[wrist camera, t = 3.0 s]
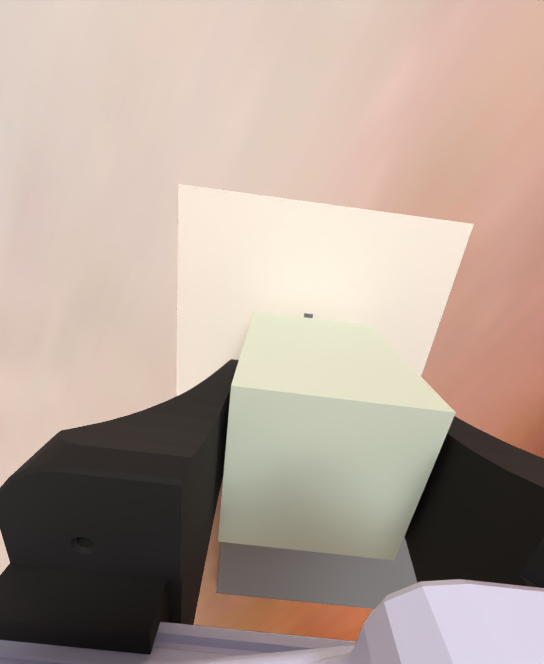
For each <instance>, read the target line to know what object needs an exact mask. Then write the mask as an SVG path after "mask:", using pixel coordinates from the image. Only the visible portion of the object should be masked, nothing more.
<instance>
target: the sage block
mask: <svg viewBox="0 0 544 664" xmlns="http://www.w3.org/2000/svg"><path fill="white" fill-rule="evenodd" d="M455 413H456V412H455V411H454V410H453V409H452V408H451V407H450V406H449V405H448V404H447V403H446V402H445V401H444V400H443V399H442V398H441V397H440V396H439V395H438V394H437V393H436V392H435V391H434V390H433V389H432V388H431V387H430V386H429V385H428V384H427V382H426V381H425V380H424V379H423V378H422V377H421V376H420V375H419V374H418V373H417V372H416V371H415V370H414V369H413V368H412V367H411V366H410V365H409V364H408V363H407V362H406V361H405V360H404V359H403V358H402V357H401V356H400V355H399V354H398V353H397V352H396V350H395V349H394V348H393V347H392V346H391V345H390V344H389V343H388V342H387V341H386V340H385V339H384V338H383V337H382V336H381V335H380V334H379V333H378V332H377V331H376V330H375V329H374V328H373V327H372V326H369V325H361V324H353V323H345V322H337V321H329V320H321V319H313V318H306V317H298V316H290V315H282V314H274V313H266V312H258V311H254V312H253V315H252V319H251V322H250V325H249V328H248V332H247V335H246V338H245V342H244V345H243V348H242V351H241V355H240V358H239V361H238V365H237V368H236V371H235V374H234V378H233V381H232V384H231V392H230V404H229V415H228V427H227V439H226V450H225V462H224V474H223V486H222V497H221V509H220V521H219V532H218V542H227V543H236V544H245V545H255V546H264V547H273V548H283V549H292V550H301V551H310V552H320V553H329V554H338V555H347V556H357V557H366V558H375V559H384V560H395V558H396V555H397V553H398V551H399V548H400V546H401V543H402V541H403V539H404V536H405V534H406V531H407V529H408V526H409V524H410V522H411V519H412V517H413V514H414V512H415V510H416V507H417V505H418V502H419V500H420V498H421V495H422V493H423V490H424V488H425V486H426V483H427V481H428V478H429V476H430V473H431V471H432V469H433V466H434V464H435V461H436V459H437V457H438V454H439V452H440V449H441V447H442V445H443V442H444V440H445V437H446V435H447V433H448V430H449V428H450V425H451V423H452V420H453V418H454V416H455Z"/></svg>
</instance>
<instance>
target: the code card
mask: <svg viewBox="0 0 544 664" xmlns="http://www.w3.org/2000/svg"><path fill="white" fill-rule="evenodd" d="M472 227H473V224H469V223H462V222H455V221H447V220H440V219H433V218H425V217H418V216H410V215H403V214H396V213H388V212H381V211H374V210H366V209H359V208H352V207H344V206H337V205H329V204H322V203H315V202H307V201H300V200H293V199H285V198H278V197H270V196H263V195H256V194H248V193H241V192H234V191H226V190H219V189H212V188H204V187H197V186H189V185H182V184H178V278H177V382H176V396H178V395H181V394H182V393H184V392H186V391H188V390H190V389H191V388H193V387H195V386H196V385H198V384H199V383H201V382H202V381H204V380H205V379H207V378H208V377H209V376H211V375H212V374H213V373H214V372H216V371H217V370H218V369H219V368H221V367H222V366H223V365H224V364H226V363H227V362H228V361H229V360H231V359H235V360H239V358H240V355H241V351H242V348H243V345H244V342H245V338H246V335H247V332H248V328H249V325H250V322H251V319H252V315H253V312H254V311H258V312H266V313H274V314H282V315H290V316H298V317H306V318H313V319H321V320H329V321H337V322H345V323H353V324H361V325H369V326H372V327H373V328H374V329H375V330H376V331H377V332H378V333H379V334H380V335H381V336H382V337H383V338H384V339H385V340H386V341H387V342H388V343H389V344H390V345H391V346H392V347H393V348H394V349H395V350H396V352H397V353H398V354H399V355H400V356H401V357H402V358H403V359H404V360H405V361H406V362H407V363H408V364H409V365H410V366H411V367H412V368H413V369H414V370H415V371H416V372H417V373H418V374H419V375H420V376H421V375H422V372H423V369H424V366H425V363H426V360H427V357H428V355H429V352H430V349H431V346H432V343H433V340H434V337H435V334H436V331H437V329H438V326H439V323H440V320H441V317H442V314H443V311H444V308H445V305H446V303H447V300H448V297H449V294H450V291H451V288H452V285H453V282H454V279H455V277H456V274H457V271H458V268H459V265H460V262H461V259H462V256H463V253H464V251H465V248H466V245H467V242H468V239H469V236H470V233H471V230H472Z"/></svg>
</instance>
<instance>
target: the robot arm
mask: <svg viewBox="0 0 544 664" xmlns="http://www.w3.org/2000/svg"><path fill="white" fill-rule="evenodd" d="M238 361H239V360H235V359H231V360H229V361H228V362H227V363H226V364H224V365H223V366H222V367H221V368H219V369H218V370H217V371H216V372H214V373H213V374H212V375H211V376H209V377H208V378H207V379H205V380H204V381H202V382H201V383H199V384H198V385H196V386H195V387H193V388H191V389H190V390H188V391H186V392H184V393H182V394H181V395H178V396H176V397H174V398H172V399H170V400H168V401H166V402H163V403H161V404H158V405H156V406H153V407H151V408H148V409H146V410H143V411H140V412H137V413H134V414H131V415H128V416H124V417H120V418H117V419H113V420H110V421H106V422H101V423H97V424H92V425H87V426H82V427H78V428H73V429H68V430H62V431H60V432H59V433H57V434H56V435H55V436H54V437H53V438H52V439H51V440H50V441H48V442H47V443H46V444H45V445H44V446H43V447H42V448H41V449H40V450H39V451H38V452H36V453H35V454H34V455H33V456H32V457H31V458H30V459H29V460H28V461H27V462H26V463H24V464H23V465H22V466H21V467H20V468H19V469H18V470H17V471H16V472H15V473H14V474H13V475H11V476H10V477H9V478H8V480H7V481H6V482H5V483H4V484H3V485H2V486H1V488H0V530H1V533H2V536H3V540H4V543H5V546H6V550H7V553H8V557H9V560H10V564H9V565H8V567H7V568H6V569H5V570H4V572H3V573H2V574H1V575H0V664H544V459H543V458H541V457H538V456H536V455H534V454H531V453H529V452H527V451H524V450H522V449H519V448H517V447H515V446H512V445H510V444H508V443H506V442H504V441H501V440H499V439H497V438H495V437H493V436H491V435H489V434H487V433H485V432H483V431H481V430H479V429H477V428H475V427H473V426H471V425H469V424H468V423H466V422H464V421H462V420H460V419H459V418H457V417H455V416H454V418H453V420H452V423H451V425H450V428H449V430H448V433H447V435H446V437H445V440H444V442H443V445H442V447H441V449H440V452H439V454H438V457H437V459H436V461H435V464H434V466H433V469H432V471H431V473H430V476H429V478H428V481H427V483H426V486H425V488H424V490H423V493H422V495H421V498H420V500H419V502H418V505H417V507H416V510H415V512H414V514H413V517H412V519H411V522H410V524H409V526H408V529H407V531H406V534H405V536H404V537H405V540H406V543H407V547H408V551H409V554H410V558H411V561H412V565H413V569H414V572H415V576H416V580H417V583H416V584H413V585H411V586H408V587H406V588H403V589H401V590H398V591H396V592H394V593H391V594H389V595H387V596H386V597H385V598H384V599H383V600H382V601H381V602H380V603H379V605H378V606H377V607H376V608H375V609H374V610H373V611H372V612H371V613H370V615H369V616H368V618H367V619H366V621H365V623H364V624H363V627H362V629H361V632H360V634H359V637H358V639H357V642H356V641H346V640H336V639H327V638H317V637H307V636H297V635H287V634H277V633H267V632H257V631H248V630H238V629H228V628H218V627H208V626H198V625H193V623H194V618H195V613H196V607H197V602H198V597H199V592H200V586H201V581H202V576H203V571H204V566H205V560H206V555H207V550H208V545H209V540H210V535H211V530H212V525H213V520H214V515H215V510H216V505H217V500H218V496H219V491H220V487H221V483H222V479H223V474H224V462H225V450H226V439H227V427H228V415H229V404H230V392H231V384H232V381H233V378H234V374H235V371H236V368H237V365H238Z"/></svg>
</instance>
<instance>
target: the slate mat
mask: <svg viewBox="0 0 544 664" xmlns="http://www.w3.org/2000/svg"><path fill="white" fill-rule="evenodd" d="M416 583H417V580H416V576H415V572H414V569H413V565H412V561H411V558H410V554H409V551H408V547H407V543H406V540H405V537H404V539H403V541H402V543H401V546H400V548H399V551H398V553H397V555H396V558H395V560H384V559H375V558H366V557H357V556H347V555H338V554H329V553H320V552H310V551H301V550H292V549H283V548H273V547H264V546H255V545H245V544H236V543H227V542H221V546H220V557H219V568H218V579H217V590H216V593H221V594H231V595H241V596H251V597H261V598H271V599H281V600H291V601H301V602H311V603H321V604H331V605H341V606H351V607H361V608H371V609H375V608H376V607H377V606H378V605H379V603H380V602H381V601H382V600H383V599H384V598H385V597H386V596H387V595H389V594H391V593H394V592H396V591H398V590H401V589H403V588H406V587H408V586H411V585H413V584H416Z"/></svg>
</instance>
